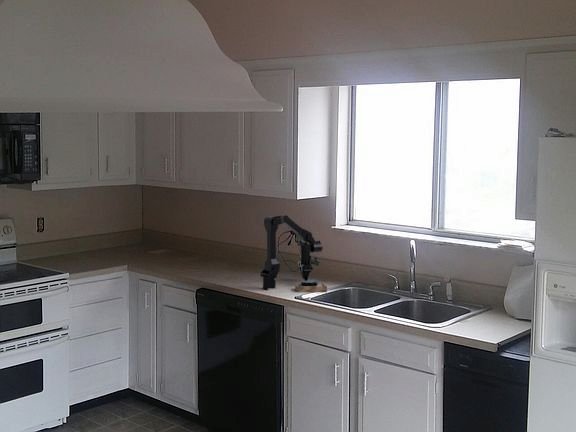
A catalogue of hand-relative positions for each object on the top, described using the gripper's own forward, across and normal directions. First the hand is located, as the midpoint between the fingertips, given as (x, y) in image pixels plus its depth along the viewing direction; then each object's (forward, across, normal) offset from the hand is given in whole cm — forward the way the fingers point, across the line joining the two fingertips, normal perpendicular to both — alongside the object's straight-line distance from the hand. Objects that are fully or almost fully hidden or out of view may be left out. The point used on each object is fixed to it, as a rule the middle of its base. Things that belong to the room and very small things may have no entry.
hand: (305, 280), depth 429 cm
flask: (+3, -14, 0) cm, 14 cm away
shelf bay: (+2, -22, 0) cm, 23 cm away
